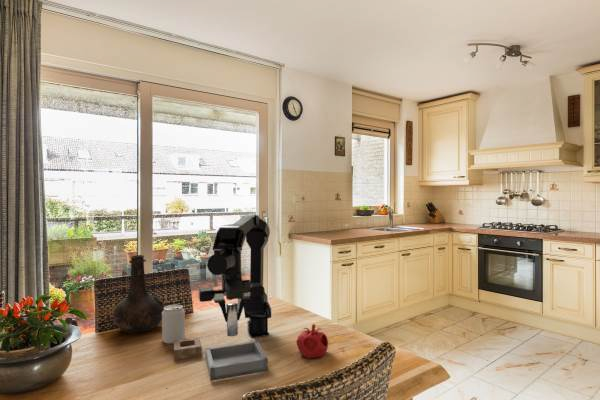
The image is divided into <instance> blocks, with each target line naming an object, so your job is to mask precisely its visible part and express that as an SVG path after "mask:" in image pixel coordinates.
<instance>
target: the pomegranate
mask: <svg viewBox="0 0 600 400" xmlns="http://www.w3.org/2000/svg"><path fill="white" fill-rule="evenodd" d="M316 327H317V326H316V324H314V323H313V324H312V325H311V330H310V329H309V328H308V327H304V328H303V331H302V332H301V333H300V334H299V335H298V336H297V339H296V343H295V344H296V346H297V347H296V348H297V349H298V351H299V353H300V354H301V355H302V356H303V357H304V358H308V359H316V358H320V357H323V356H324V355H326V353H327V351H328V347H329V339H328V337H327V335H326V334H325V333H324V332H322V331H319V330H321V328H320V327H319V328H316Z"/></svg>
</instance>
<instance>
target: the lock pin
mask: <svg viewBox="0 0 600 400" xmlns="http://www.w3.org/2000/svg"><path fill="white" fill-rule="evenodd" d="M237 305H238V302H235V301H234V302H228V303H225V306H226V313H227V322H226V336H227V337H235V336H238V334H239V326H238V325H239V320H238V308H237Z"/></svg>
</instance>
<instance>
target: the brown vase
mask: <svg viewBox="0 0 600 400" xmlns="http://www.w3.org/2000/svg"><path fill="white" fill-rule="evenodd" d="M130 259H131V260H129V261H128V263H129V264H131V265H130V267H131V268H130V280H129V287H128V288H129V289H128V294H127V296H126V298H123V300H120V301H119V303H118V304H116V306H115V308H114V309H113V312H112V318H113V321H114V324H115V325H116V327H117V328H118V329H119V330H120V331H122V332H125V333H128V334H142V333H145V332H149V331H151V330H153V329H154V328H156V327H158V325H159V324H160V323H162V312H163V311H164V307H165V305H164V304H165V302H164V300H163V299H162V298H161V297H159V296H158V295H151V294H150V293H149V292H148V288H147V284H146V274H145V262H147V259H145V256H144V255H143V254H136V255H132V256H131V257H130Z"/></svg>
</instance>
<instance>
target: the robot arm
mask: <svg viewBox="0 0 600 400" xmlns="http://www.w3.org/2000/svg"><path fill="white" fill-rule="evenodd" d="M270 234H271V230H270V227H269V224H268V223H267V222H266V221H265V220H263V219H262V218H260V215H258V214H255V213H253V214H248V213H247V214H244V215H243V216H242V217H241V218H239V219H238V220H236V222H234V223H232V224H231V223H230V224H224V225H221V226H220V227H218V230H217V231H216V235H215V238H214V241H213V246H212V251H213V254H212V255H210V257H209V258H208V260H207V262H206V266H207V269H208V272H209V273H211V274H212V275H214V276H221V289H219V288H218V289H214V288H213V286H207V287H199V289H198V300H199V302H202V303H203V302H204V303H205V302H211V301H213V302H214V303H215V304H218V305H219V307H220V309H221V313H222V315H223V319H224V322H225V323H227V309H226V300H228V301H232V300H237V308H238V321H240V318H241V316H242V313H244V317H245V319H248V320H247V333H248V335H249V336H250V338H258V337H260V338H261V337H267V336H269V335H270V332H269V325H268V324H269V323H268V322H269V321H268V319H271V318H272V307H271V305H270V303H269V301H268V299H269V298H268V295H267V293H266V291H265V286H264V257H265V256H264V254H265V253H264V249H265V247H266V245H267V244H268V242H269V237H270ZM245 241H246V244H247V245H248V247H249V248H250V262H249V263H250V271H249V272H250V273H249V274H250V275H249V279H243V278H242V251H243V246H244V244H245ZM225 298H226V299H225Z"/></svg>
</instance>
